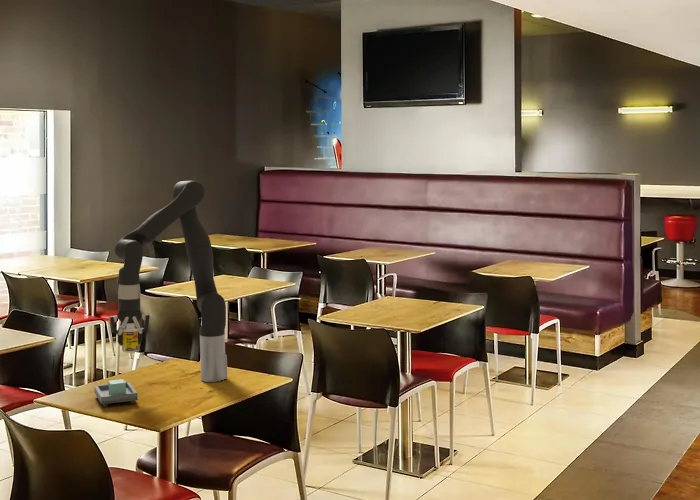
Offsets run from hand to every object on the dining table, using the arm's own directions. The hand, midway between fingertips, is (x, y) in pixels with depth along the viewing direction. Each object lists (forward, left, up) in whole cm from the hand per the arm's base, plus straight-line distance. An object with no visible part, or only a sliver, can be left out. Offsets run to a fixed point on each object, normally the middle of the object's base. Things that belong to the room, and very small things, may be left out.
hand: (129, 344), depth 309 cm
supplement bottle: (0, 0, -3) cm, 3 cm away
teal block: (+6, +7, -16) cm, 19 cm away
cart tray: (+6, +4, -18) cm, 20 cm away
